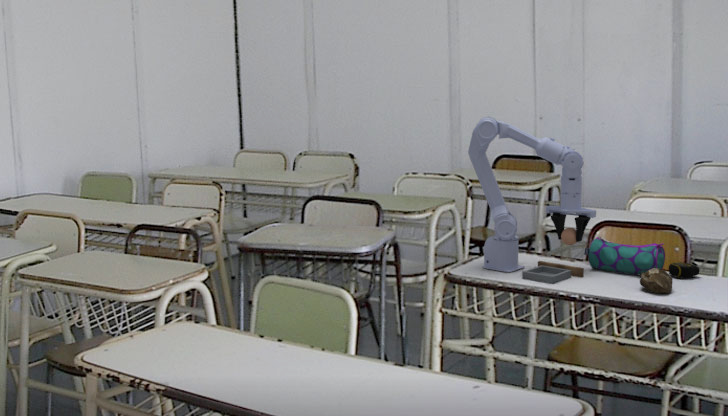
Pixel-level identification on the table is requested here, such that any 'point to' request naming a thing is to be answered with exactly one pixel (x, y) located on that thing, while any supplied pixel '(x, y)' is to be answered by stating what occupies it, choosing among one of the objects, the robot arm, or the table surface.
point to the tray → (546, 274)
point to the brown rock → (656, 281)
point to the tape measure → (683, 270)
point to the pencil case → (624, 256)
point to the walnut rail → (574, 270)
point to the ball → (569, 236)
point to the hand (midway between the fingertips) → (569, 240)
